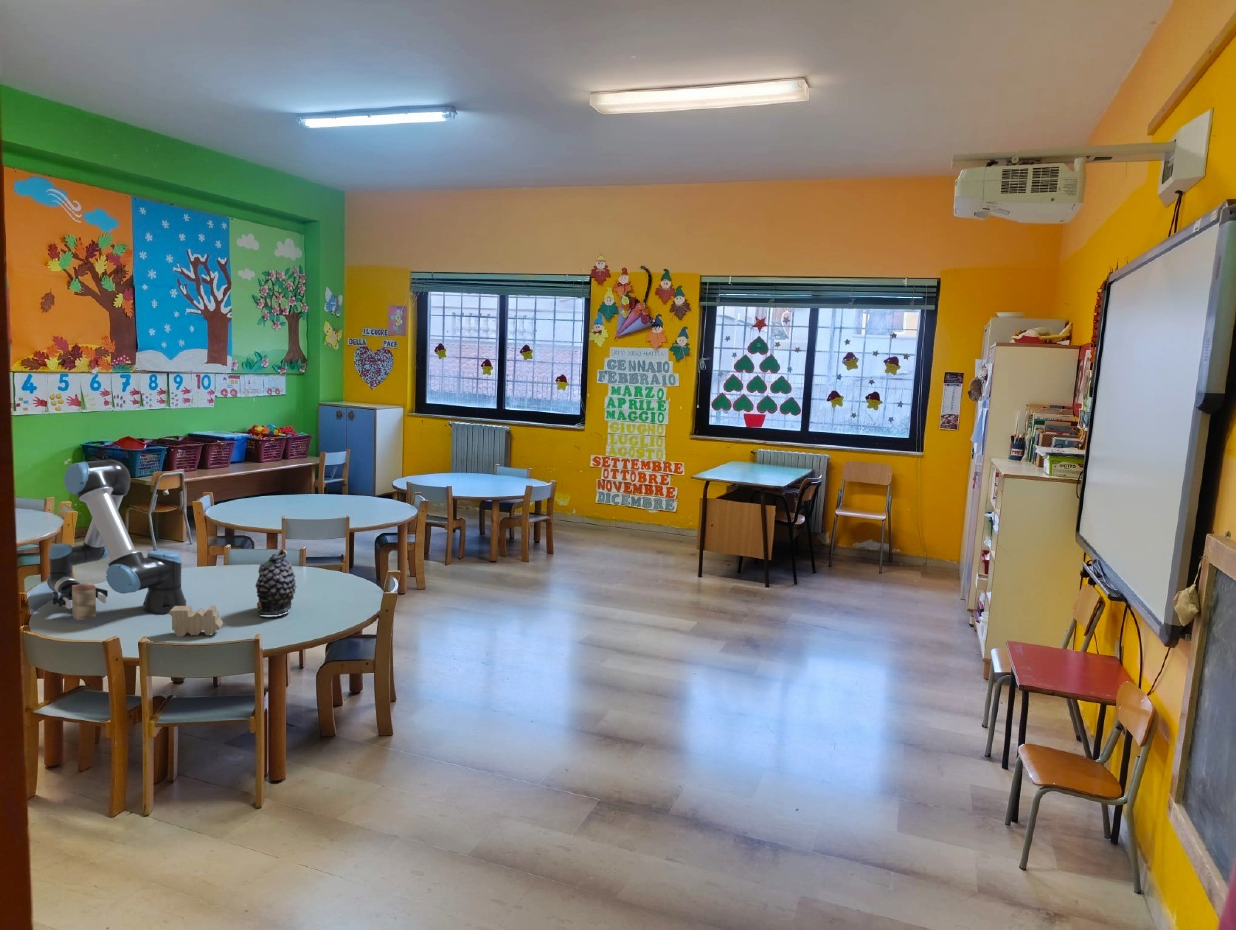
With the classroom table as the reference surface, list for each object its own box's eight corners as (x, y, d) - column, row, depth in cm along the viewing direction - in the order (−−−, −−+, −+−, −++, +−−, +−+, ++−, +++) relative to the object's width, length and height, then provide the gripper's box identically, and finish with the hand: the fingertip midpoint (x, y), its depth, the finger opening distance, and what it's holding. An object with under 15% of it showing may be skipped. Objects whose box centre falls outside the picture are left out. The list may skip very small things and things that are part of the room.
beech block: (90, 613, 310) (90, 582, 309) (95, 617, 306) (95, 586, 305) (72, 616, 306) (71, 585, 304) (77, 620, 302) (77, 589, 300)
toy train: (219, 636, 297) (219, 609, 296) (168, 636, 293) (168, 610, 292) (223, 631, 302) (223, 605, 301) (173, 631, 298) (173, 605, 297)
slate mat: (126, 616, 311) (126, 615, 311) (96, 627, 297) (96, 626, 297) (81, 609, 314) (81, 608, 314) (50, 620, 301) (50, 619, 301)
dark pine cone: (260, 604, 335) (260, 545, 332) (298, 604, 339) (299, 545, 336) (250, 620, 315) (251, 558, 312) (291, 620, 319) (292, 558, 316)
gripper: (102, 592, 326) (122, 606, 312) (33, 603, 309) (51, 618, 294) (102, 574, 325) (121, 587, 311) (33, 584, 308) (50, 598, 293)
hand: (87, 602), depth 303 cm, fingers open, 11 cm apart
